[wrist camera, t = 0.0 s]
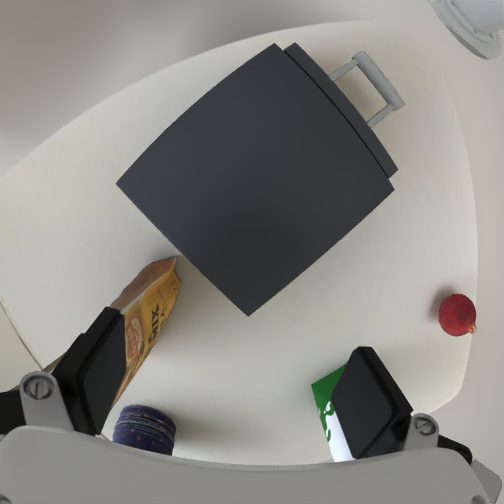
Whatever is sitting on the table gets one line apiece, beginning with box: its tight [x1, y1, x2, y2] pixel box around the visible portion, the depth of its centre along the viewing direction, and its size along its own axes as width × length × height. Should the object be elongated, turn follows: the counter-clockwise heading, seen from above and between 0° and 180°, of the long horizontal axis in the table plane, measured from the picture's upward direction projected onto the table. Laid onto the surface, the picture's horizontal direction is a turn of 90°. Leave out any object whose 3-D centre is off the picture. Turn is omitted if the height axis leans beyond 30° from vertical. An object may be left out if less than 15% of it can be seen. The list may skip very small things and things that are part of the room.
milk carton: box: [311, 365, 356, 462], centre depth 26 cm, size 9×9×20 cm
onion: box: [439, 294, 476, 336], centre depth 29 cm, size 6×6×8 cm
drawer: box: [284, 43, 405, 178], centre depth 21 cm, size 20×13×7 cm, turn 132°
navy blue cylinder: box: [112, 405, 176, 456], centre depth 30 cm, size 10×10×15 cm
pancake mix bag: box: [9, 257, 181, 412], centre depth 17 cm, size 7×19×28 cm, turn 146°
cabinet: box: [116, 43, 395, 316], centre depth 22 cm, size 15×14×9 cm
